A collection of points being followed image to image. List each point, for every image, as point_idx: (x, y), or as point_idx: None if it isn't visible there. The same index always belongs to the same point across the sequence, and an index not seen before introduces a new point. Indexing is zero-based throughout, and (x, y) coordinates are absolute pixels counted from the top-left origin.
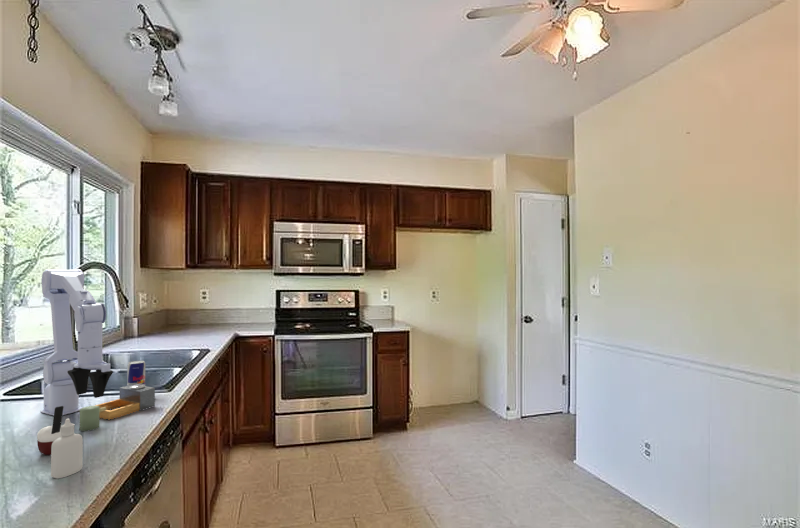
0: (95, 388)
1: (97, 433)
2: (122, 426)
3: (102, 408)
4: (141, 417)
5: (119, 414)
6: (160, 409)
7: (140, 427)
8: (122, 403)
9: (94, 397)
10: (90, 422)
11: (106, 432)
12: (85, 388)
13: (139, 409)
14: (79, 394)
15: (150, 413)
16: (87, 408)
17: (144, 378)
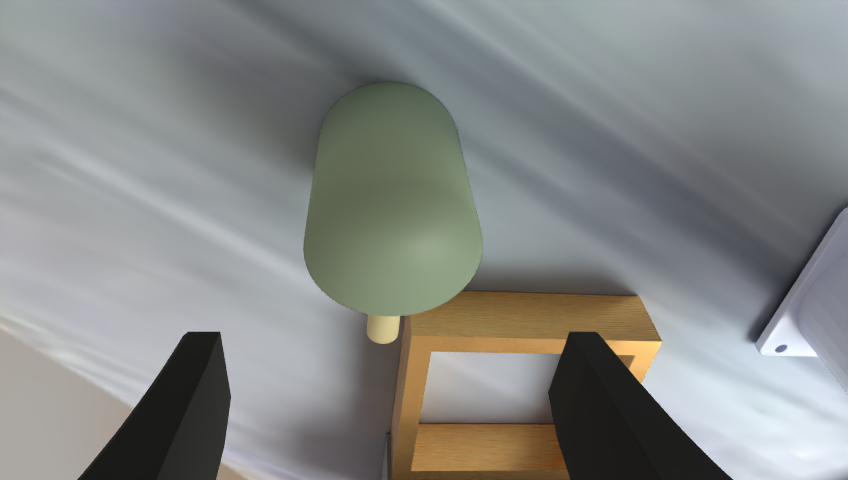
0: (108, 445)
1: (187, 89)
2: (185, 251)
3: (374, 318)
4: (259, 382)
5: (402, 357)
6: (299, 475)
7: (45, 282)
8: (540, 451)
9: (218, 332)
10: (319, 149)
11: (147, 131)
12: (566, 440)
13: (391, 440)
14: (567, 341)
15: (283, 430)
16: (409, 242)
17: None
